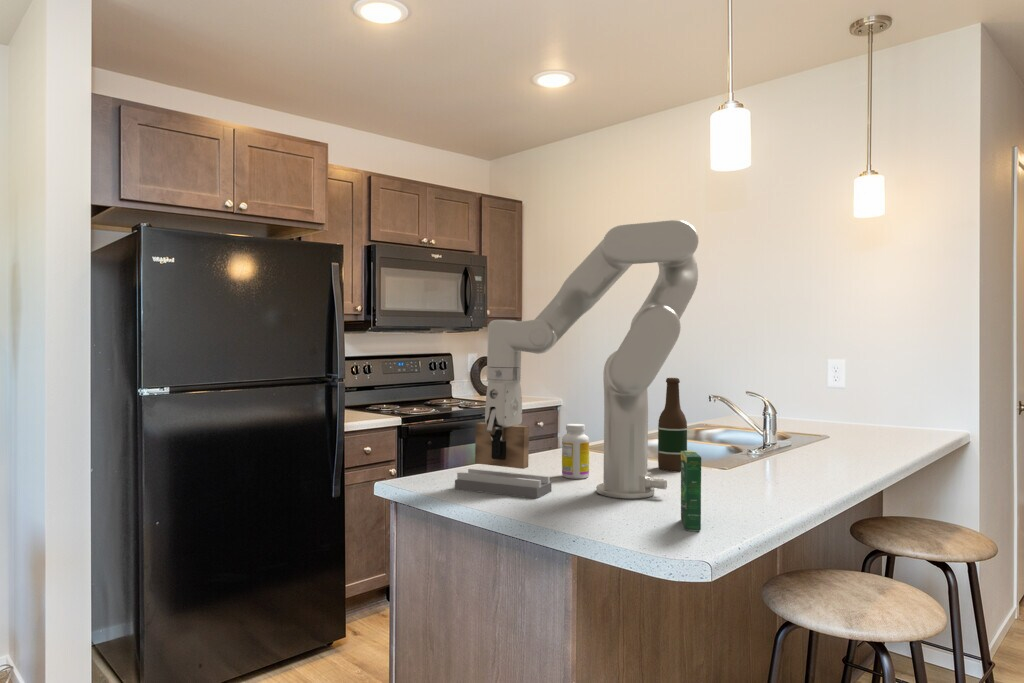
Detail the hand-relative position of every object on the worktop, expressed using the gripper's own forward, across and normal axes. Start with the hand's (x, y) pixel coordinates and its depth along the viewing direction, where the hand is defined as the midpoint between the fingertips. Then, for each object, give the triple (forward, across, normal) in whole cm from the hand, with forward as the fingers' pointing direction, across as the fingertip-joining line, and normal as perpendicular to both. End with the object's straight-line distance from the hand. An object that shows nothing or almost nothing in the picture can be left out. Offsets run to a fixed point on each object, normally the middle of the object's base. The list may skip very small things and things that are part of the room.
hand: (501, 457), depth 149 cm
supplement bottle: (+7, +22, -9) cm, 25 cm away
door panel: (+2, 0, 0) cm, 2 cm away
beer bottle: (+7, +44, -28) cm, 53 cm away
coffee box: (+7, -10, -43) cm, 45 cm away
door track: (+7, 0, 0) cm, 7 cm away
